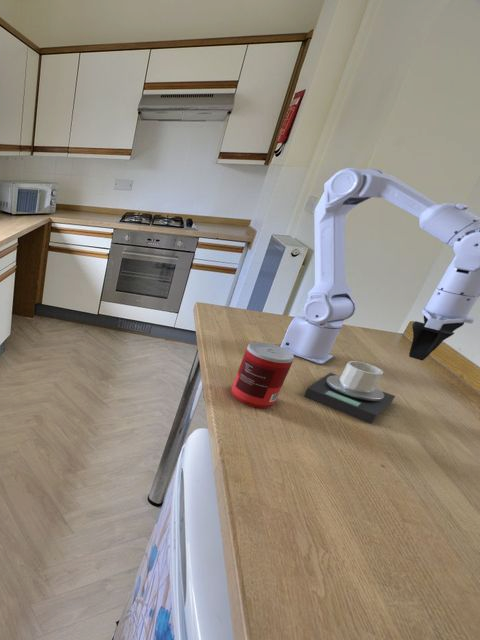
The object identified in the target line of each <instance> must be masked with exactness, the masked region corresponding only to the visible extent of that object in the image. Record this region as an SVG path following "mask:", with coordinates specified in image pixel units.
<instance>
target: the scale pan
mask: <svg viewBox="0 0 480 640" xmlns="http://www.w3.org/2000/svg"><path fill="white" fill-rule="evenodd" d="M340 377H341V375H338V376H337V374H335V375H334V376H329V377H328V378H327V380H326V382H327V384H328V385H329V386H330V387H332V388H333V389H335V390H337V391H339V392H341V393H343V394H346V395H348V396H351V397H354V398H358V399H362V400H368V401H379V400H382V399H383V397H384V394H383V392H384V391H383V392H382V390H381V389H380V388H378V387H377V386H376V387H375V389H374V390H373V391H370V392H367V393H365V392H358V391H355V390H352V389H349V388H347V387H345V386H344V385H342V384H341V381H340Z"/></svg>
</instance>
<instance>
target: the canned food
mask: <svg viewBox="0 0 480 640" xmlns="http://www.w3.org/2000/svg"><path fill="white" fill-rule="evenodd" d="M294 359H295V355H293V354H292V353H291V352H290V351H288V350H286V349H284V348H282V347H280V345H276V344H273V343H268V342H262V341H253V342H250V343H248V345H247V346H246V350H245V352H244V354H243V357H242V360H241V362H240V365H239V368H238V370H237V373H236V376H235V378H234V381H233V383H232V386H231V395H232V396H233V397H234V399H236V400H237V401H238V402H240V403H241V404H244V405H246V406H250V407H253V408H256V409H257V408H258V409H267V408H270V407H272V406H273V405H274V404H275V403H276V401H277V398H278V396H279V394H280V392H281V390H282V388H283V385H284V382H285V381H286V378H287V376H288V374H289V371H290V369H291V367H292V365H293V362H294Z"/></svg>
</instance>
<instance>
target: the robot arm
mask: <svg viewBox="0 0 480 640" xmlns="http://www.w3.org/2000/svg"><path fill="white" fill-rule="evenodd" d="M323 186H324V187H323V189H324V191H323V193H322V195H321V197H320V199H319V201H318V203H317V205H316V207H315V209H314V213H313V215H314V216H313V217H314V218H313V219H314V220H313V221H314V223H313V224H314V226H313V228H314V286H313V287H312V288H311V289H310V290H309V291H308V293H307V297H306V299H307V300H306V302H305V304H304V306H303V310H302V312H303V316H300V315H296V316H294V318H293V319H292V320H291V322H290V324H289V325H288V327H287V329H286V331H285V335H284V337H283V339H282V342H281V344H280V345H279V347H282V348H284V349H286V350H288V351H290V352H291V353H292V354H293V355H294V356H296V357H299V358H301V359H305V360H308V361H310V362H313V363H316V364H318V365H324V364H325V363H326V362H328V361H330V360H331V359H332V358H333V357H334V355H332V354H330V352H332V349H333V346H334V344H335V342H336V340H337V338H338V336H339V334H340V332H341V330H342V327H343V325H344V321H346V320H348V319H350V318H352V316H354V315H355V312H356V310H357V304H356V302H355V301H354V298H353V297H352V290H351V288H350V287H349V286H348V285H347V283H346V242H345V241H346V218H345V217H346V216H347V214H349V213H350V212H351V211H352V210H353V209H354V208H355V207H356V206H359V205H360V204H362V203H364V202H365V201H367V200H371V198H377V199H378V198H380V199H383V200H385V201H387V202H389V203H391V204H392V205H395V206H397V207H398V208H400V209H402V210H404V211H405V212H407V213H409V214H411V215H413V216H415V217H417V218H418V219H419V220H418V221H419V222H418V223H419V224H418V225H419V228H420V229H421V230H423V231H424V232H426V233H428V234H429V235H431V236H433V237H434V238H436V239H438V240H439V241H440V242H442V243H444V244H446V245H447V246H449V247H450V248H453V252H454V254H455V255H454V258H453V259H452V260H451V263H450V264H449V265H448V267H447V268H446V270H445V272H444V273H443V276H442V278H441V279H440V281H439V283H438V284H437V286H436V288H435V290H434V291H433V293H432V295H431V297H430V298H429V300H428V302H427V304H426V306H425V307H423V308H422V310H421V314H422V315H423V322H421V321H416V320H415V321H414V322H413V323H412V325H411V327H412V342H411V345H410V348H409V353H408V357H409V358H412V359H415V360H419V361H424V360H426V358H427V357H429V356H430V354H432V353H433V352H434V351H435V350H436V349H437V348H438V347H439V346H440V345H441V344H442V343H443V342H444V341H446V339H448V338H451V337H452V336H454V334H455V332H454V331H456V330H458V329H459V328H461V327H463V326H464V324H465V323H468V324H474V322H475V320H476V319H475V318H474V317H471V316H470V317H469V314H470V312H471V310H472V309H473V307H474V305H475V304H476V302H477V301H478V299H479V298H480V217H479V216H477V215H475V214H474V213H471V212H470V211H468V210H467V209H469V206H468V205H467V204H464V203H457V204H455V203H453V202H446V203H437V202H435V201H433V200H432V199H431V198H429V197H427V196H426V195H424V194H423V193H421V192H419V191H418V190H416V189H414V188H413V187H411V185H408V184H407V183H405V182H404V181H402V180H401V179H399V178H398V177H396V176H394V175H392V174H389V173H385V172H383V171H382V170H381V169H379V168H378V169H377V168H368V169H367V168H355V167H346V168H343V169H340V170H339V171H337V172H336V173H334V174H333V175H332V176H331V177H330V178H329V179H328V180H326V182H325V183H324V184H323Z"/></svg>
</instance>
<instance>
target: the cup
mask: <svg viewBox="0 0 480 640" xmlns="http://www.w3.org/2000/svg"><path fill="white" fill-rule="evenodd" d="M383 374H384V371H383V369H381V368H380V367H378V366H375V365H373V364H370V363H367V362H363V361H358V360H350V361H347V363H346V365H345V367H344V368H343V371H342V373H341V375H340V376H341V377H340V381H341V384H342V385H344V386H345V387H347V388H349V389H352V390H355V391H358V392H365V393H367V392H370V391H373V390H374V389H375V387H376V388H377V385H378V384H379V381H380V380H381V378H382V376H383Z"/></svg>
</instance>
